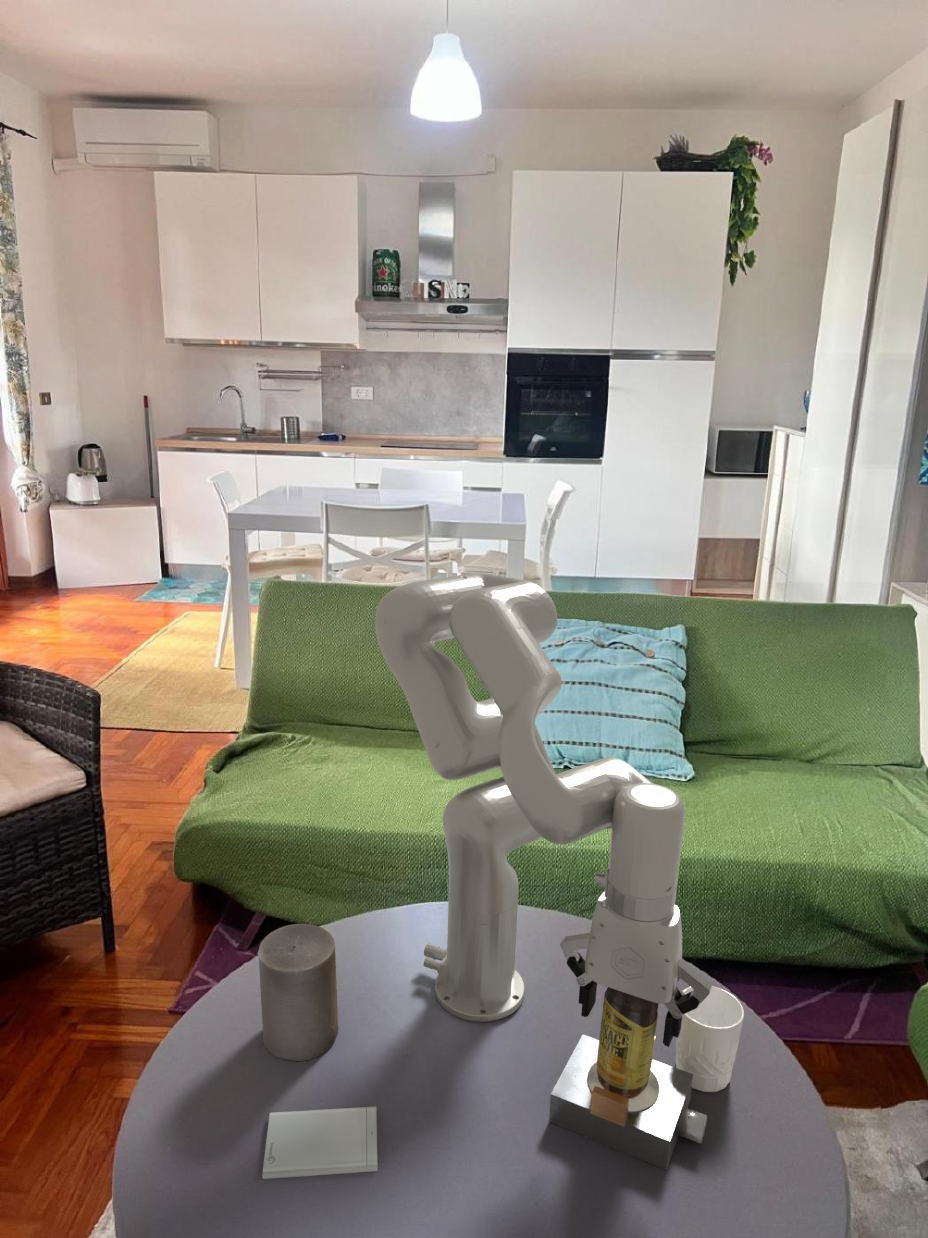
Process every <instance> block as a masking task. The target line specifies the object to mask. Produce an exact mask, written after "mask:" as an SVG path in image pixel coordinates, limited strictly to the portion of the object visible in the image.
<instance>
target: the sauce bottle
mask: <svg viewBox="0 0 928 1238" xmlns="http://www.w3.org/2000/svg"><path fill="white" fill-rule="evenodd" d="M658 1011H659V1003H654V1002H651V1001H648V1000H645V999H642V998H639V997H636V996H633V995H630V994H627V993H624V992H621V991H618V990H615V989H612V988H609V987H607V988H606V990H605V992H604V996H603V1004H602V1014H601V1023H600V1029H599V1030H600V1031H599V1039H598V1040H599V1047H598V1055H597V1074H598V1080H599V1082H600V1084H601V1086H603V1087H604V1088H605V1089H606V1090H607V1091H610V1092H613V1093H615V1094H618V1095H620V1096H623V1097H634V1096H637V1095H639V1094H640V1093H642V1091H643V1090H644V1089H645V1087H646V1086H647V1084H648V1079H649V1076H650V1068H651V1061H652V1060H653V1059H652V1054H653V1047H654V1039H655V1040H656V1038H655V1037H656V1031H657V1024H658V1018H659V1017H658V1016H659V1012H658ZM654 1048H655V1047H654Z"/></svg>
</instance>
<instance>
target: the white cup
mask: <svg viewBox="0 0 928 1238" xmlns="http://www.w3.org/2000/svg"><path fill="white" fill-rule="evenodd" d="M682 991H683V993H684V994H687V993H689V992H691V991H694V989H693V988H692V987H690V986H689V987H686V988H685V989H683V990H682ZM744 1010H745V1009H744V1007H743V1005H742V1004H741V1002H740V1000H739V999H737V997H735V996H734V995H733V994H732V993H730V992H729V991H726V990H725V989H722V988H721V987H717V986H713V985H712V988H711V991H710V993H709V995H708V996H707V997H706V998H705V999H704V1000H703V1001H702V1003H700V1004H699V1005H698V1007H697V1008H696V1009H694V1010H692V1011H690V1012H687V1013H685V1014H683V1015H682V1023H681V1030H680V1034H679V1036H678V1038H676V1037H675V1051H676V1055H675V1068H677V1069H680V1070H683V1071H685V1072H688V1073H691V1074H693V1081H692V1089H695V1090H697V1091H701V1092H704V1093H717V1092H719V1091H721V1090H722V1091H723V1089H726V1088H727V1086H728V1084H729V1083H730V1081H731V1078H732V1072H733V1068H734V1063H735V1061H736V1057H737V1052H738V1048H739V1042H740V1039H741V1038H740V1037H741V1032H742V1027H743V1021H744V1017H745V1011H744Z"/></svg>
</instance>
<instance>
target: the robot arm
mask: <svg viewBox="0 0 928 1238" xmlns="http://www.w3.org/2000/svg"><path fill="white" fill-rule="evenodd" d="M374 623H375V624H374V625H375V636H376V641H377V643H378V644H377V645H378V648H379V650H380V652H381V655H382V656H383V659H384V660H385V663H386V665H387V667H388V668H389V669H390V671H391V672H392V674H393V676H394V678H395V679H396V681H397V682H398V684H399V686H400V688H401V690H402V692H403V693H404V696H405V698H406V700H407V703H408V705H409V706H408V707H409V709H410V712H411V714H412V718H413V720H414V723H415V726H416V728H417V730H418V733H419V736H420V738H421V741H422V744H423V746H424V748H425V749H424V750H425V751H426V754H427V757H428V759H429V762H430V764H431V765H432V768H433V769H434V771H435V772H436V773H437V775H438V776H439V777H441V778H442V779H444V780H448V781H456V780H464V779H466V778H469V777H473V776H476V775H479V774H483V773H486V772H489V771H492V770H495V769H499V770H500V772H501V773H502V774H501V775H502V776H501V777H498V778H494V779H490V780H488V781H485V782H482V783H479V784H476V785H474V786H470V787H468V788H466V789H464V790H462V791H460V792H458V793H457V794H455V795H454V796H453V797H452V798H451V799H450V800H449V801H448V802H447V804H446V806H445V808H444V810H443V815H442V828H443V834H444V835H443V836H444V839H445V844H446V850H447V860H448V905H447V907H448V908H447V909H448V910H447V935H446V936H447V939H446V945H447V946H446V948H443V947H441V946H440V945H436V944H434V943H430V942H427V943H426V945H425V947H424V950H423V955H424V957H425V959H424V960H423V967H425V968H427V969H431V970H435V971H436V972H437V975H436V979H435V983H434V992H435V993H434V994H435V997H436V1000H437V1001H438V1004H440V1006H441V1007H442V1008H443V1009H445V1010H446V1011H447V1012H448V1013H450V1014H452V1015H453V1016H455V1017H458V1018H459V1019H462V1020H466V1021H470V1022H479V1023H481V1022H483V1023H484V1022H485V1023H486V1022H492V1021H498V1020H500V1019H503V1018H506V1017H508V1016H510V1015H512V1014H513V1013H515V1012H516V1010H518V1009H519V1007H520V1006H521V1005H522V1003H523V1001H524V999H525V990H526V989H525V988H526V987H525V982H524V980H523V977H522V975H521V974H520V973H519V972H518V971H517V970H516V968H515V965H516V949H517V932H518V931H517V929H518V926H517V925H518V911H519V910H518V909H519V880H518V876H517V873H516V871H515V869H514V868H513V866H512V865H511V864H510V863H509V862H508V861H509V860H508V855H509V854H510V853H511V852H512V851H515V850H517V849H519V848H521V847H522V846H525V845H527V844H529V843H532V842H535V841H537V840H540V839H544V840H546V841H547V842H550V843H553V844H555V845H569V844H572V843H576V842H577V841H578V842H579V840H580V841H581V840H582V839H585V838H587V837H590V836H592V835H595V834H596V833H600V832H601V831H604V830H610V829H611V834H610V836H611V837H610V845H609V856H608V857H609V858H608V869H607V872H600V871H597V872H596V873H595V877H594V884H595V885H599V886H600V887H601V888H603V892H602V893H601V895H600V896H599V897H598V899H597V902H596V905H595V908H594V912H593V915H592V919H591V925H590V930H589V932H587V933H581V934H574V935H572V934H571V935H566V936H564V938H563V939H562V941H561V942H560V944H559V945H560V948H561V950H562V953H563V956H564V958H565V959H566V965H567V967H568V968H569V969H570V971H572V973H573V975H574V976H575V977H576V983H577V984H578V985H579V991H578V1004H580V1005H581V1012H580V1013H581V1014H580V1015H581V1017H584V1018H586V1017H589V1015H590V1014H591V1012H592V1010H593V1008H594V1006H595V1004H596V1001H597V991H598V990H597V988H598V985H602V986H604V987H607V988H608V987H609V988H612V989H615V990H618V991H621V992H624V993H627V994H630V995H633V996H636V997H639V998H642V999H645V1000H648V1001H651V1002H654V1003H659V1004H661V1005H664V1006H665V1007H666V1009H667V1012H666V1015H665V1020H664V1027H663V1028H664V1029H663V1037H662V1044H663V1045H664V1046H665V1047H668V1048H669V1047H670V1045H671V1042H672V1040H673V1037H674V1038H675V1039H676V1038H678V1036H679V1034H680V1030H681V1023H682V1015H683V1014H685V1013H687V1012H690V1011H692V1010H694V1009H696V1008H697V1007H698V1005H699V1004H700V1003H702V1001H703V1000H704V999H705V998H706V997H707V996H708V995H709V993H710V991H711V988H712V986H713V984H712V983H711V982H710V981H709V980H708V979H706V978H705V977H704V976H702V974H700V973H699V972H698V971H697V970H695V969H694V968H692V967H691V966H690V965H689V964H688V963H686V962H685V961H684V960H683V931H682V930H683V929H682V918H681V917H682V916H681V913H680V909H679V907H678V905H676V899H677V898H676V897H677V889H678V882H679V872H680V863H681V854H682V847H683V835H684V829H685V828H684V827H685V820H686V818H685V817H686V809H685V804H684V800H682V798H681V796H679V794H678V793H676V792H675V791H674V790H672V789H670V788H669V787H665V786H664V785H659V784H657V783H653V782H652V781H651V780H650V779H648V778H647V777H646V776H644V774H642V773H641V772H640V771H639V770H637V768H635V767H634V766H633V765H632V764H630V763H629V762H627V761H626V760H624V759H621V758H618V757H615V756H609V757H603V758H599V759H597V760H593V761H591V762H588V763H586V764H581V765H579V766H575V767H573V768H571V769H568V770H565V771H561V772H559V773H556V771H555V769H554V767H553V764H552V762H551V760H550V759H551V758H550V757H549V755H548V752H547V750H546V747H545V745H544V742H543V740H542V737H541V735H540V732H539V730H538V728H537V725H536V718H537V717H538V716H539V715H540V714H541V713H543V711H544V710H545V709H546V708H548V706H550V704H551V703H552V702H553V701H554V700H555V699H556V698H557V696H558V695H559V692H560V690H561V688H562V686H563V685H562V683H563V680H562V677H561V675H560V673H559V670H558V669H557V668H556V666H555V665H554V664H553V663H552V661H551V660H550V658H549V656H548V655H547V654H546V652H545V651H544V650H543V648H542V647H541V645H540V643H544V642H545V641H547V640H548V639H550V638H551V637H552V636H553V634H554V633H555V631H556V629H557V627H558V626H557V624H558V613H557V607H556V605H555V602H554V601H553V599H552V597H551V596H550V595H549V593H548V592H547V591H546V590H545V589H544V588H543V587H541V586H540V585H539V584H537V583H535V582H532V581H530V580H524V579H520V578H513V577H507V576H501V575H496V574H489V573H484V572H483V573H482V572H480V573H479V572H477V573H476V572H475V573H466V574H458V575H451V576H446V577H439V578H433V579H432V578H431V579H425V580H424V579H423V580H419V581H414V582H410V583H407V584H403V585H400V586H398V587H395V588H392V589H391V590H390V591H389V592H387V593H386V594H385V595H384V596H382V598H381V600H380V601H379V603H378V604H377V607H376V612H375V619H374ZM451 639H455V642H456V643H457V645H458V646H459V648H460V650H462V651H461V652H462V653H463V654H464V655H465V657H466V659H467V661H468V662H469V664H470V665H471V667H472V669H473V670H474V672H475V673H476V675H477V677H478V678H479V679H480V682H481V683H482V685H483V686H484V688H485V689H486V691H487V693H488V694H489V696H490V698H488V699H484V700H480V701H477V700H475V698H474V697H473V695H472V693H471V690H470V689H469V687H468V683H467V679H466V678H465V675H464V674H463V672H462V671H461V669H460V668H459V667H458V665H457V664H456V663H455V662H454V661H453V660H452V658H450V657H449V656H448V655H446V654H445V653H444V652H443V651H441V650H439V649H438V648H436V646H435V643H436V642H441V641H446V640H451ZM583 949H584V950H585V949H586V955H585V958H583V956H582V955H581V953H580V952H579V951H578V950H583ZM680 979H681V980H682V981H683V982H684V983H686V985H688V986H689V987H692V988H693V989H694V991H691V992H689V993H687V994H684V993H683V990H682V988H681V986H680V985H679V984H678V982H679V981H680ZM659 1004H658V1005H659Z"/></svg>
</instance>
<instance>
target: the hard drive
mask: <svg viewBox="0 0 928 1238" xmlns="http://www.w3.org/2000/svg"><path fill="white" fill-rule="evenodd" d="M377 1110H378V1109H377V1106H362V1107H361V1106H360V1107H345V1108H328V1109H327V1108H325V1109H324V1108H323V1109H311V1110H309V1109H308V1110H294V1111H293V1110H292V1111H276V1112H274V1111H273V1112H269V1114H268V1125H267V1131H266V1139H265V1147H264V1148H265V1149H264V1155H263V1163H262V1173H261V1174H262V1180H266V1179H278V1178H294V1177H309V1176H310V1177H311V1176H324V1175H337V1174H350V1173H351V1174H353V1173H355V1174H356V1173H364V1172H365V1173H366V1172H378V1162H379V1161H378V1123H377V1122H378V1120H377V1119H378V1118H377V1117H378V1116H377V1115H378V1114H377V1112H378V1111H377Z"/></svg>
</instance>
